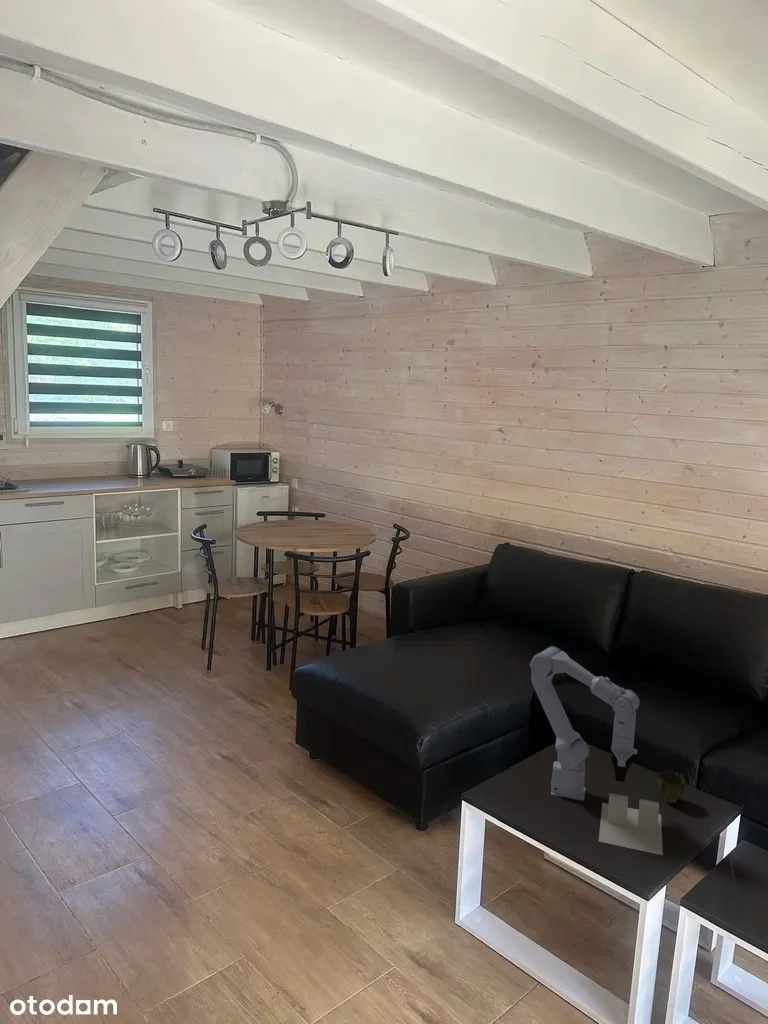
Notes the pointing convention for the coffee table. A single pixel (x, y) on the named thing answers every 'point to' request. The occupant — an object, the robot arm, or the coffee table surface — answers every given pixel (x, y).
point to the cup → (671, 786)
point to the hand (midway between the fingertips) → (620, 778)
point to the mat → (630, 833)
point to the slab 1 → (617, 809)
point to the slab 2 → (648, 815)
